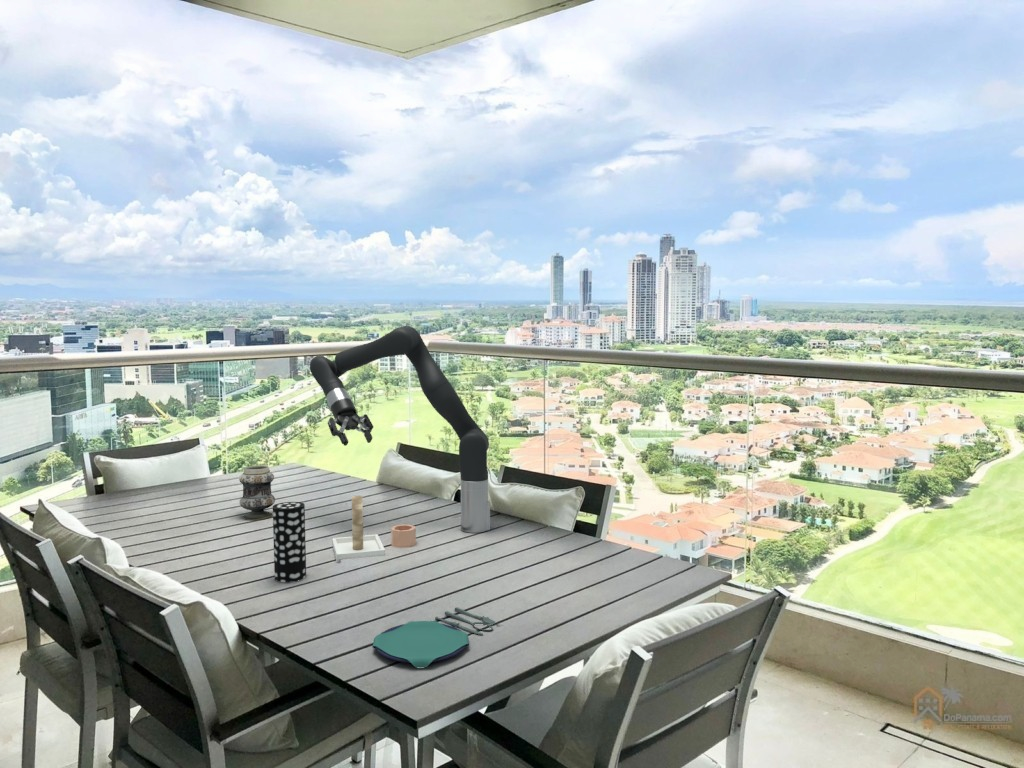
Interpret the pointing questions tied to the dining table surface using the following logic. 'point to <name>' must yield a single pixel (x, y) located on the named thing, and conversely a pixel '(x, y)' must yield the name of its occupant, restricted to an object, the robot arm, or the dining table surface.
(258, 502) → the apothecary jar
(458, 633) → the cutlery set
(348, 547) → the tray
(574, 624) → the dining table surface
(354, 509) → the wooden pin
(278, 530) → the spotted tube
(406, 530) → the holder cup
